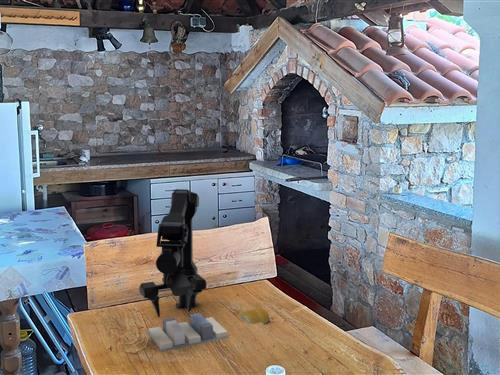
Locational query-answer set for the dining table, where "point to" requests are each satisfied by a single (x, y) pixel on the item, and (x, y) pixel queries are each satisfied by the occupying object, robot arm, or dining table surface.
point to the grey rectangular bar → (201, 326)
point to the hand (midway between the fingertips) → (173, 314)
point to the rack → (186, 336)
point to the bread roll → (255, 316)
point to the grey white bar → (174, 331)
